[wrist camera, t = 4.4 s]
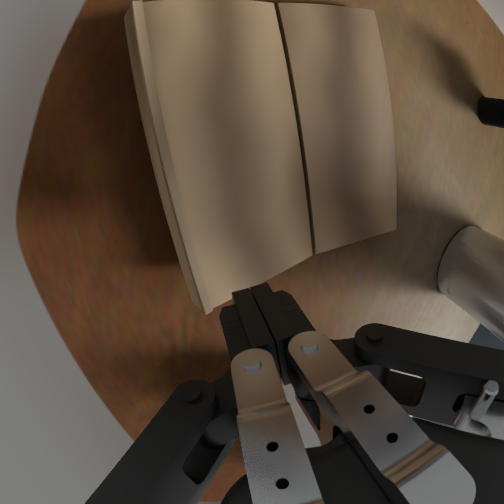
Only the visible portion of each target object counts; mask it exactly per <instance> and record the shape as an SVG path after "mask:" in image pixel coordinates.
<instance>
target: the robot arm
mask: <svg viewBox="0 0 504 504" xmlns="http://www.w3.org/2000/svg"><path fill="white" fill-rule="evenodd" d="M438 287H439V290H440V291H441V292H442V293H443V294H444V295H445V296H447V297H448V298H449V299H451V300H452V301H453V302H454V303H456V304H457V305H458V306H460V307H461V308H462V309H463V310H465V311H466V312H467V313H468V314H470V315H471V316H472V317H474V318H475V319H476V320H477V321H479V322H480V323H481V324H482V325H484V326H485V327H486V328H487V329H489V330H490V331H491V332H492V333H493V334H495V335H496V336H497V337H498V338H499V339H501V340H502V341H503V342H504V240H502V239H500V238H498V237H496V236H494V235H492V234H490V233H488V232H486V231H484V230H481V229H479V228H477V227H474V226H467V227H465V228H463V229H462V230H460V231H459V232H458V233H457V234H456V235H455V236H454V238H453V239H452V241H451V242H450V244H449V245H448V247H447V249H446V251H445V253H444V255H443V257H442V260H441V263H440V267H439V271H438ZM231 293H232V298H233V301H234V304H233V305H230V306H226V307H222V310H221V313H220V316H219V317H220V321H221V325H222V328H223V332H224V336H225V340H226V343H227V347H228V350H229V354H230V358H231V365H230V368H229V370H228V371H227V373H226V374H225V375H224V376H222V377H221V378H220V379H218V380H216V381H214V382H213V383H211V384H209V383H208V382H206V381H203V380H191V381H188V382H185V383H183V384H181V385H180V386H179V387H177V388H176V390H175V391H174V392H173V393H172V395H171V396H170V397H169V399H168V400H167V401H166V402H165V404H164V405H163V406H162V408H161V409H160V410H159V411H158V413H157V414H156V415H155V417H154V418H153V419H152V420H151V422H150V423H149V424H148V425H147V427H146V428H145V429H144V431H143V432H142V433H141V434H140V436H139V437H138V438H137V439H136V441H135V442H134V443H133V445H132V446H131V447H130V448H129V450H128V451H127V452H126V453H125V455H124V456H123V457H122V458H121V460H120V461H119V462H118V463H117V465H116V466H115V467H114V468H113V470H112V471H111V472H110V473H109V475H108V476H107V477H106V478H105V479H104V481H103V482H102V483H101V484H100V486H99V487H98V488H97V489H96V490H95V492H94V493H93V494H92V495H91V497H90V498H89V499H88V500H87V501H86V503H85V504H197V503H198V501H199V500H200V498H201V497H202V495H203V494H204V492H205V490H206V489H207V487H208V486H209V484H210V482H211V481H212V479H213V478H214V476H215V474H216V473H217V471H218V469H219V468H220V466H221V464H222V463H223V461H224V459H225V458H226V456H227V454H228V453H229V451H230V449H231V447H232V446H233V444H234V441H235V438H236V437H238V436H240V441H241V446H242V451H243V457H244V462H245V467H246V472H247V474H245V475H244V476H242V477H241V478H240V479H239V480H238V481H237V482H236V483H235V484H234V485H233V486H232V487H231V488H230V490H229V491H228V492H227V494H226V495H225V497H224V499H223V501H222V503H221V504H504V350H500V349H494V348H489V347H484V346H479V345H474V344H469V343H464V342H459V341H455V340H450V339H445V338H441V337H436V336H431V335H427V334H422V333H418V332H413V331H409V330H405V329H400V328H396V327H392V326H388V325H383V324H378V323H372V324H367V325H364V326H362V327H361V328H359V329H358V330H357V332H356V333H355V337H354V338H350V339H342V340H332V339H329V338H328V337H327V336H326V335H325V334H323V333H321V332H317V331H316V330H315V329H314V327H313V326H312V324H311V323H310V322H309V320H308V319H307V317H306V316H305V314H304V313H303V311H302V310H301V308H300V307H299V305H298V304H297V303H296V301H295V299H294V298H293V296H292V295H291V294H289V293H287V292H285V291H283V290H281V291H278V292H274V293H273V292H272V290H271V288H270V286H269V285H268V283H267V282H266V283H262V284H259V285H255V286H252V287H250V289H249V288H245V289H241V290H238V291H234V292H231ZM390 369H394V370H398V371H401V372H405V373H409V374H413V375H417V376H420V377H422V378H416V377H412V376H409V375H405V374H401V373H397V372H393V371H390ZM281 379H282V381H281ZM282 382H283V384H284V386H285V385H288V384H292V386H293V388H294V391H295V398H296V401H297V402H298V404H299V406H300V407H301V409H302V411H303V412H304V414H305V416H306V417H307V419H308V421H309V422H310V424H311V426H312V427H313V429H314V431H315V432H316V434H317V436H318V438H319V440H320V443H321V446H317V447H311V448H305V446H304V444H303V441H302V438H301V435H300V432H299V429H298V426H297V423H296V420H295V417H294V414H293V411H292V408H291V406H290V403H289V402H287V399H286V396H285V393H284V390H283V387H282ZM409 415H412V416H416V417H420V418H424V419H427V420H431V421H436V422H440V423H444V424H448V425H453V426H455V429H454V428H450V427H446V426H442V425H438V424H435V423H432V422H428V421H424V420H421V419H417V418H412V417H410V416H409Z"/></svg>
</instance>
